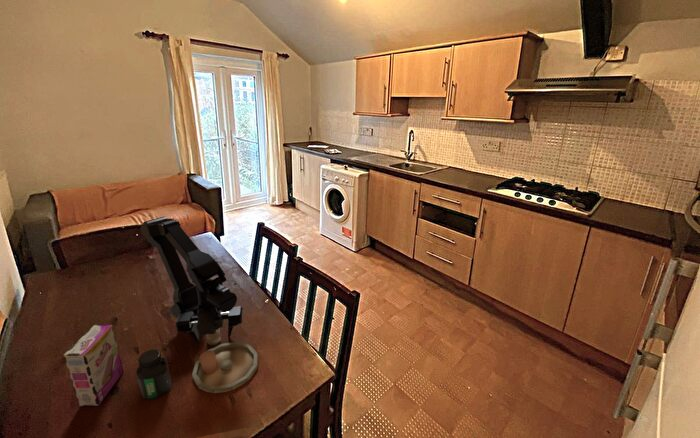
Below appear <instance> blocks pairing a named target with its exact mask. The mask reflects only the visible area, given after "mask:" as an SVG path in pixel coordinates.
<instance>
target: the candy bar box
mask: <svg viewBox="0 0 700 438" xmlns="http://www.w3.org/2000/svg"><path fill="white" fill-rule="evenodd" d="M120 355H121V354H120V352H119V347H118V343H117V339H116V336H115V332H114V327H113V325H112V324H94V325H93V326H92V327H91V328H90V329H89V330H87V331H86V333H85V334H84V335H83V336H81V337H80V339H79V340H77V341H76V342H75V344H73V345H72V346H71V347H70V348H69V349H68V350H67V351H66V352H65V353H64V354H63V358H64V361H65V365H66V367H67V371H68V373H69V377H70V380H71V383H72V387H73V389H74V392H75V396H76V399H77V402H78V405H79V406H80V407H97V406H98V407H99V406H100V405H101V404H102V402H103V401H104V399H105V398H106V397H107V395H108V394H109V393H110V391H111V389H113V387H114V386H115V384H116V383H117V381H118V380H119V379H120V377H121V376H122V374H124V368H123V363H122V360H121V356H120Z"/></svg>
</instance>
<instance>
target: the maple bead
mask: <svg viewBox="0 0 700 438" xmlns="http://www.w3.org/2000/svg"><path fill="white" fill-rule="evenodd" d="M205 336H206V342H207V344H208V345H210V346H215V345H219V343H221V341H222V338H221V330H220V328H219V330H216V332H215V333H214V334H206V335H205Z"/></svg>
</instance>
